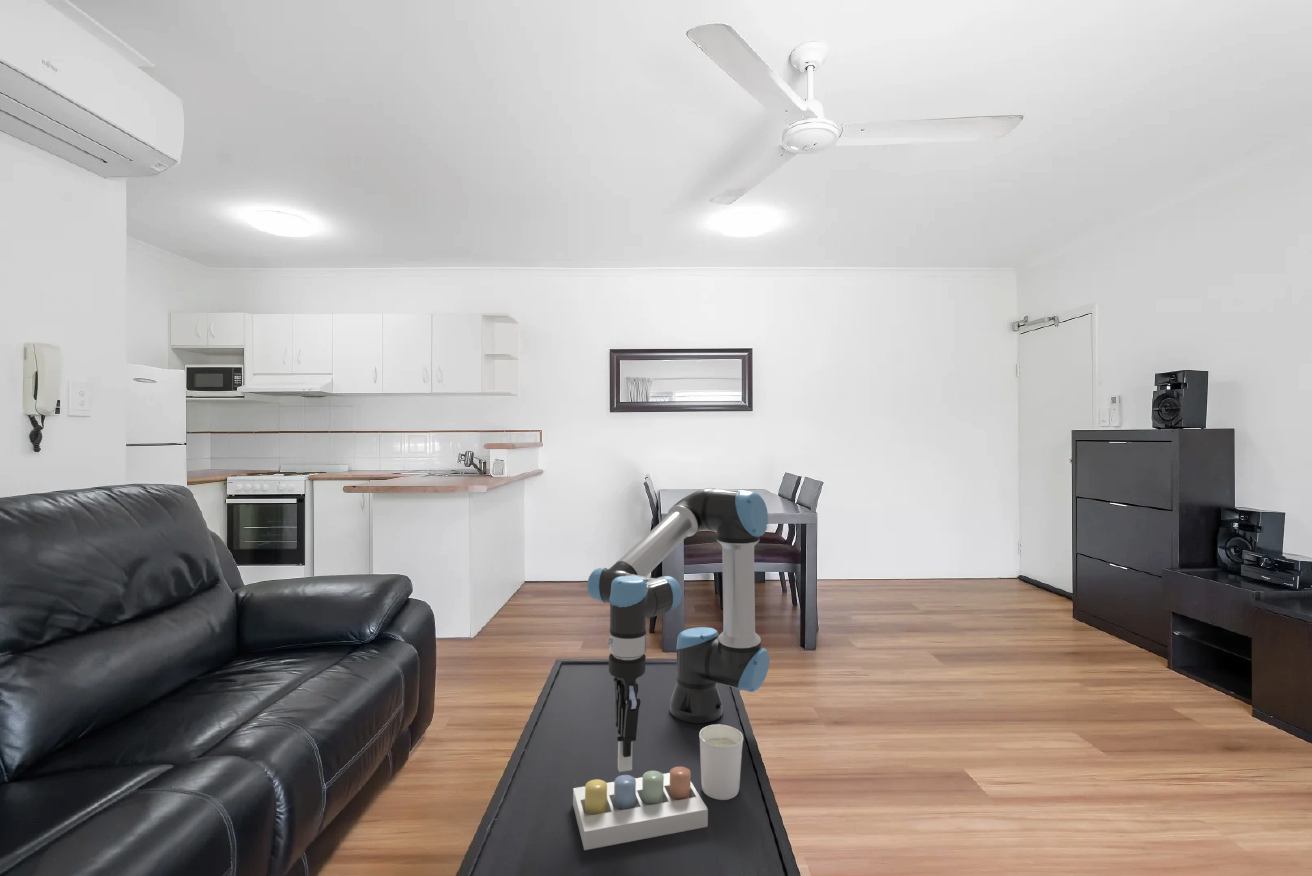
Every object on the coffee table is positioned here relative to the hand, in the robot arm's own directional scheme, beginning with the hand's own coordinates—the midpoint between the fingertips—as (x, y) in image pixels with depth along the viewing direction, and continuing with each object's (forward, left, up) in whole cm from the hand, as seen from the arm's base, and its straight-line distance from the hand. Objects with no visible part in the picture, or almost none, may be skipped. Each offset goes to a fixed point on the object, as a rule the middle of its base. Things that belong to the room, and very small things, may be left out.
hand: (624, 768), depth 117 cm
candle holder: (-23, -4, -10) cm, 26 cm away
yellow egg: (+6, 0, -7) cm, 9 cm away
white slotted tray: (-3, 0, -10) cm, 10 cm away
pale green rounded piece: (-6, 0, -7) cm, 9 cm away
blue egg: (0, 0, -7) cm, 7 cm away
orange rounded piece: (-12, 0, -7) cm, 14 cm away
